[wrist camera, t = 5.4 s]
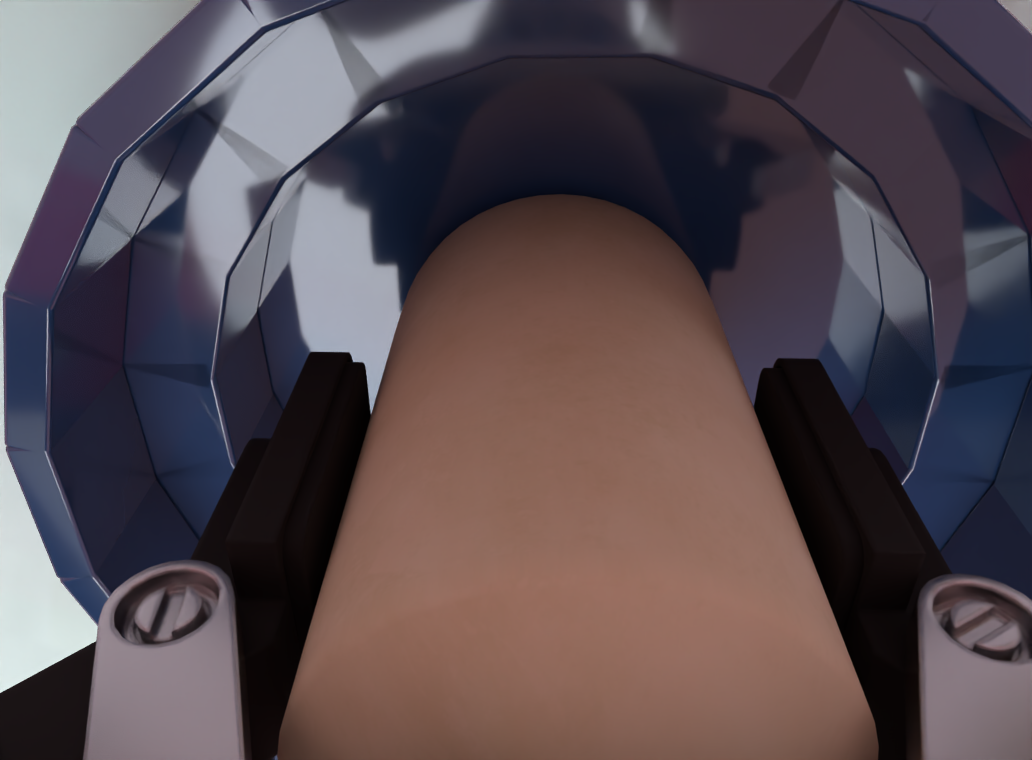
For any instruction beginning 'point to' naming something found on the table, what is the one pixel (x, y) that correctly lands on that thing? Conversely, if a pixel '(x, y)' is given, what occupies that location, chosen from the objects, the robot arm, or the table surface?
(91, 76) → the table surface
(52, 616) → the table surface
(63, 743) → the robot arm
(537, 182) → the basin
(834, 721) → the candle
